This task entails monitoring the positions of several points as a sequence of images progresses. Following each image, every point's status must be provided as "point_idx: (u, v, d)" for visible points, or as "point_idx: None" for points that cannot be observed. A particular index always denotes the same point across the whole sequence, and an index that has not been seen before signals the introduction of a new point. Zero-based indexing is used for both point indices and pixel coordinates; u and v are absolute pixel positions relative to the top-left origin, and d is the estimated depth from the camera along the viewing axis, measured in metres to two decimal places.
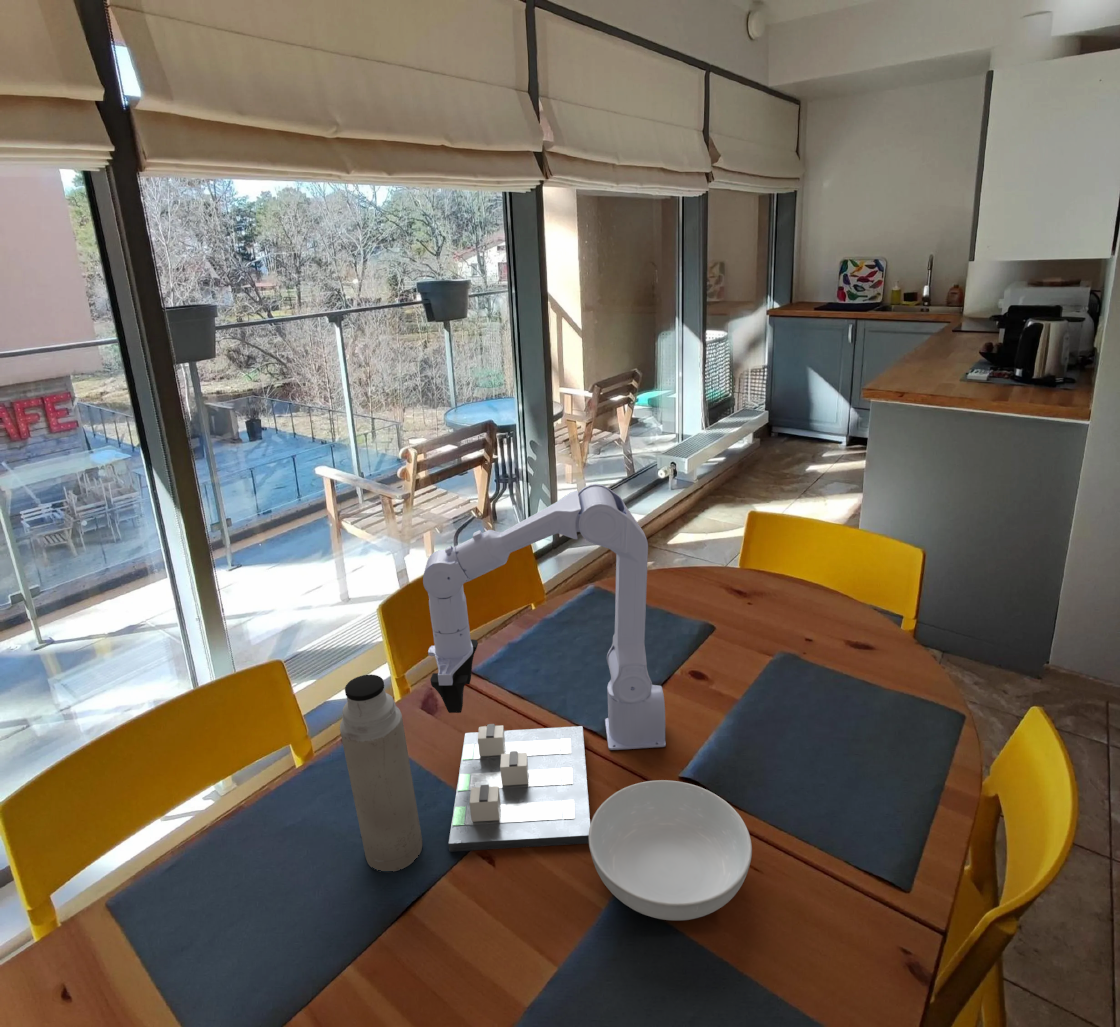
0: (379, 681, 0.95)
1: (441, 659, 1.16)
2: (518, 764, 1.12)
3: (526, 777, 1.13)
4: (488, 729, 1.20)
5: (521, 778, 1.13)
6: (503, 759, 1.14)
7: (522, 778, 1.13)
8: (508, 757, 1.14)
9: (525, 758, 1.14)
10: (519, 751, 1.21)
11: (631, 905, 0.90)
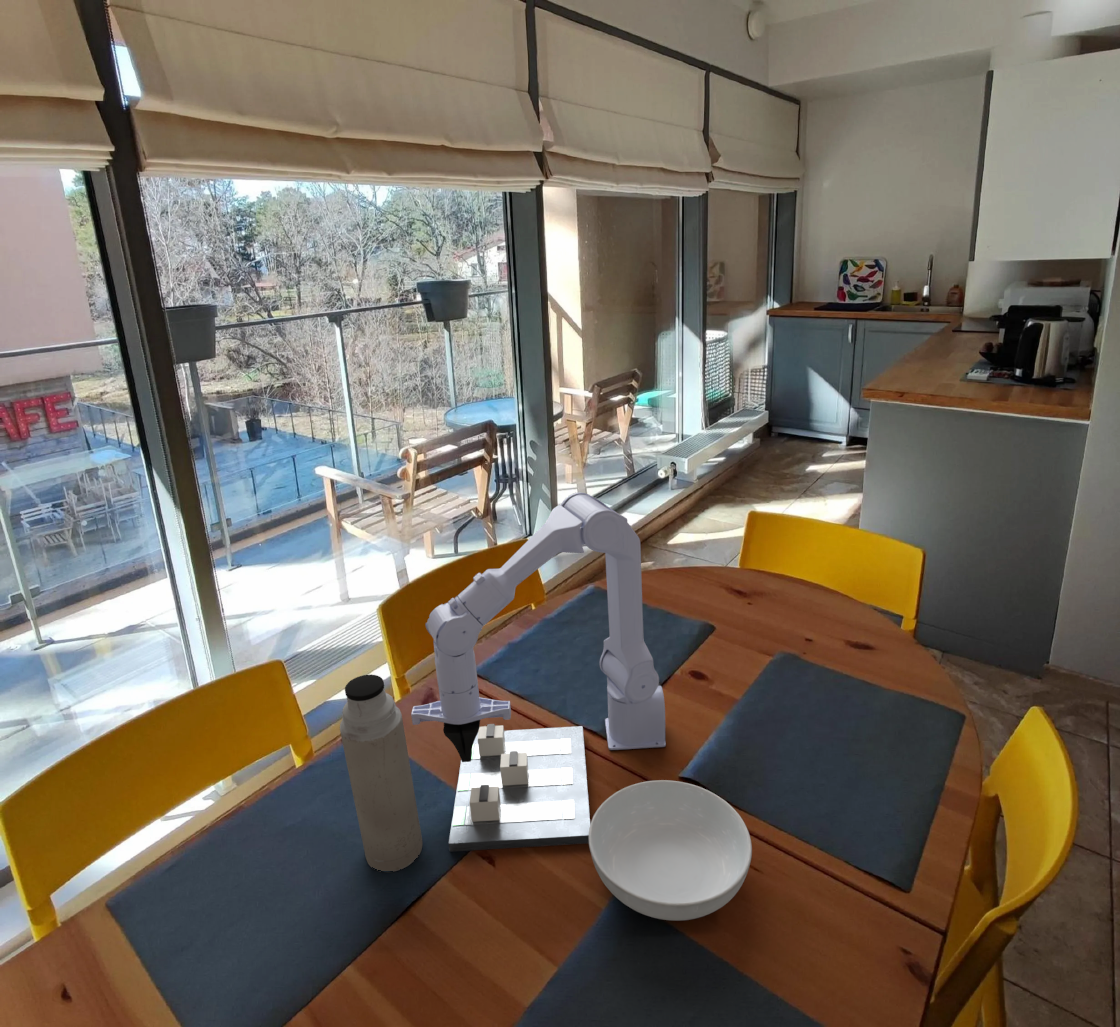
0: (379, 681, 0.95)
1: None
2: (518, 764, 1.12)
3: (526, 777, 1.13)
4: (488, 729, 1.20)
5: (521, 778, 1.13)
6: (503, 759, 1.14)
7: (522, 778, 1.13)
8: (508, 757, 1.14)
9: (525, 758, 1.14)
10: (519, 751, 1.21)
11: (631, 905, 0.90)
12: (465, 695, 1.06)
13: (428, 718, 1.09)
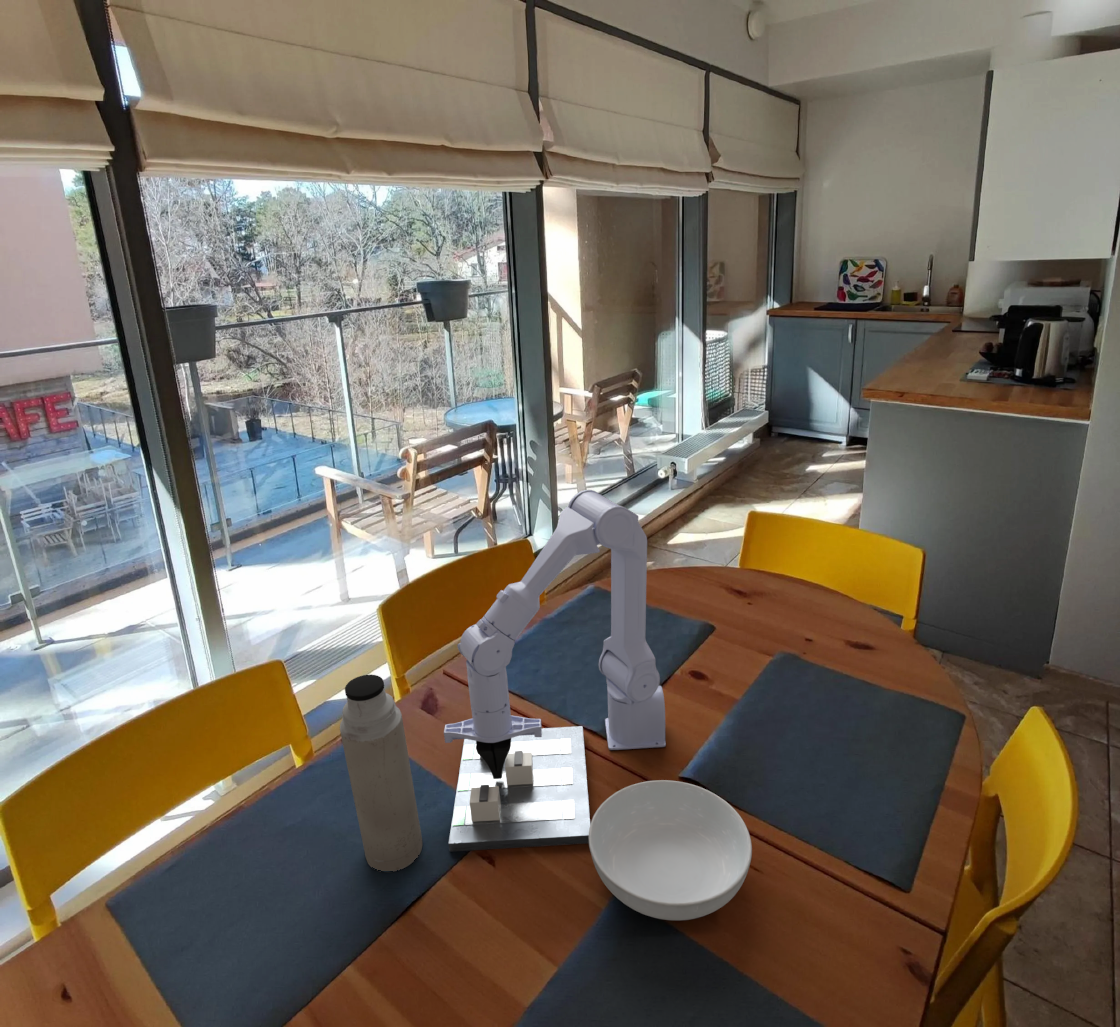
0: (379, 681, 0.95)
1: None
2: (523, 764, 1.12)
3: (531, 777, 1.13)
4: None
5: (526, 778, 1.13)
6: (508, 759, 1.14)
7: (527, 778, 1.13)
8: (513, 757, 1.14)
9: (530, 758, 1.14)
10: None
11: (631, 905, 0.90)
12: (498, 714, 1.07)
13: (461, 736, 1.10)
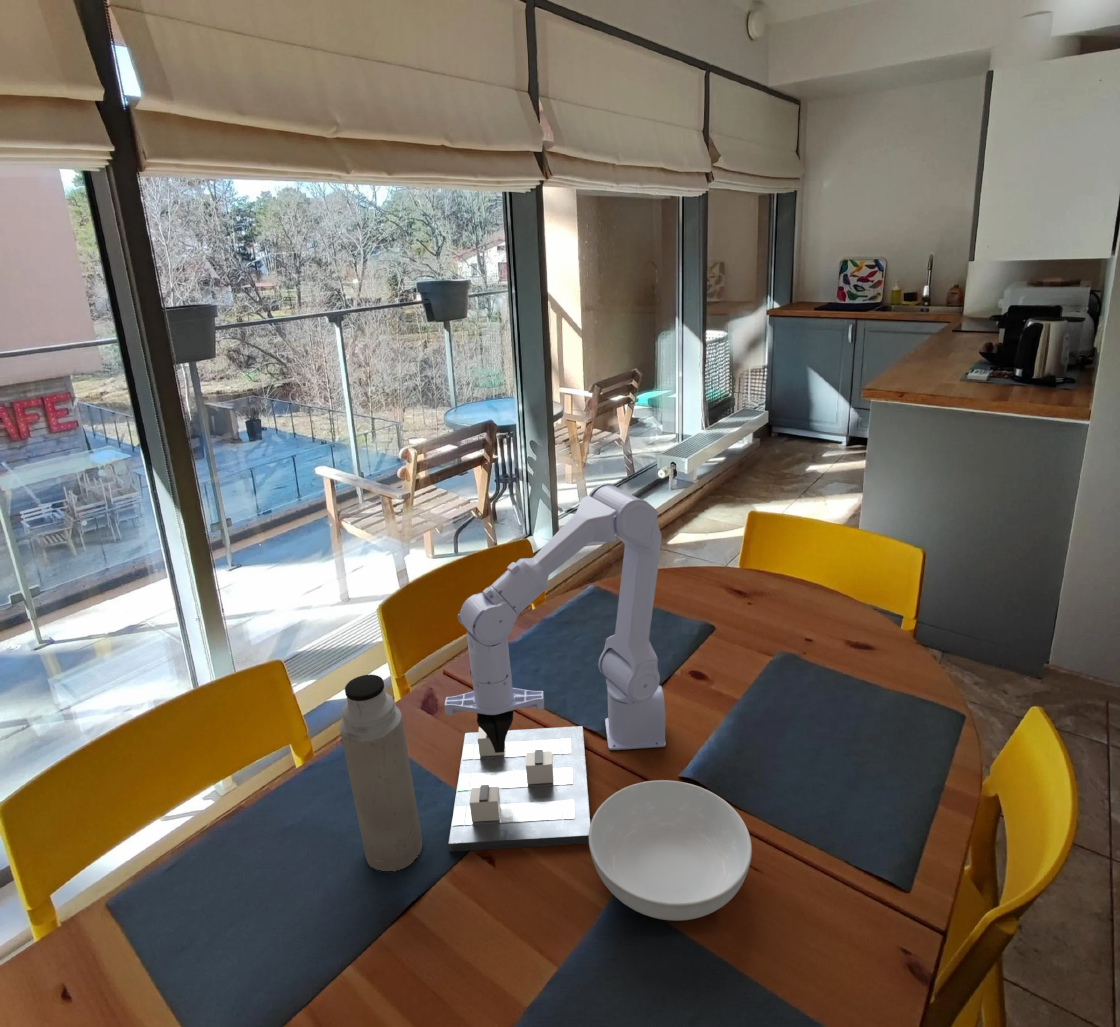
0: (379, 681, 0.95)
1: None
2: (544, 762, 1.12)
3: (551, 775, 1.13)
4: None
5: (546, 776, 1.13)
6: (528, 757, 1.14)
7: (547, 776, 1.13)
8: (533, 755, 1.14)
9: (550, 756, 1.14)
10: (519, 751, 1.21)
11: (631, 905, 0.90)
12: (499, 685, 1.06)
13: (462, 709, 1.08)
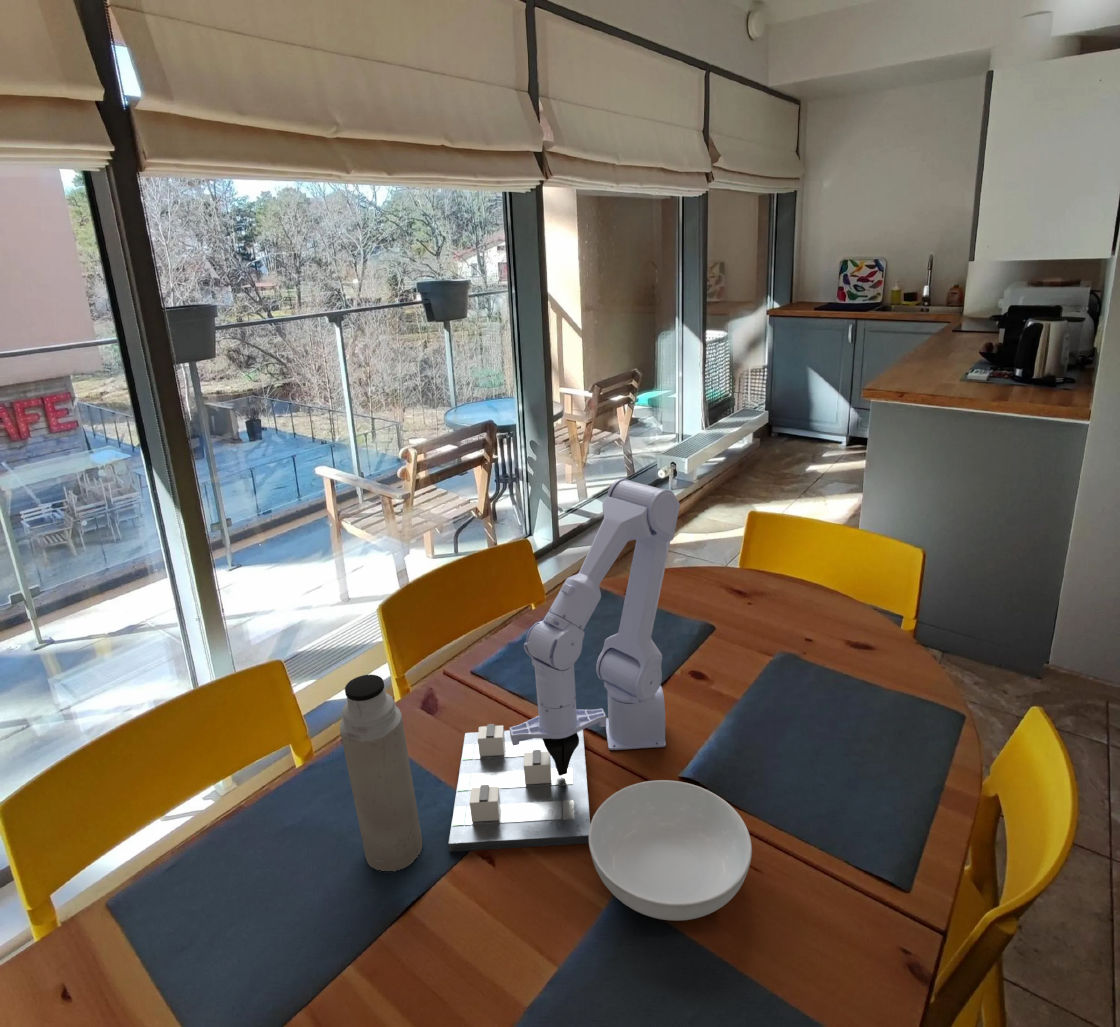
0: (379, 681, 0.95)
1: (538, 720, 1.12)
2: (541, 763, 1.12)
3: (549, 776, 1.13)
4: (488, 729, 1.20)
5: (544, 777, 1.13)
6: (526, 758, 1.14)
7: (545, 777, 1.13)
8: (531, 756, 1.14)
9: (548, 757, 1.14)
10: (519, 751, 1.21)
11: (631, 905, 0.90)
12: (569, 708, 1.08)
13: (530, 736, 1.09)
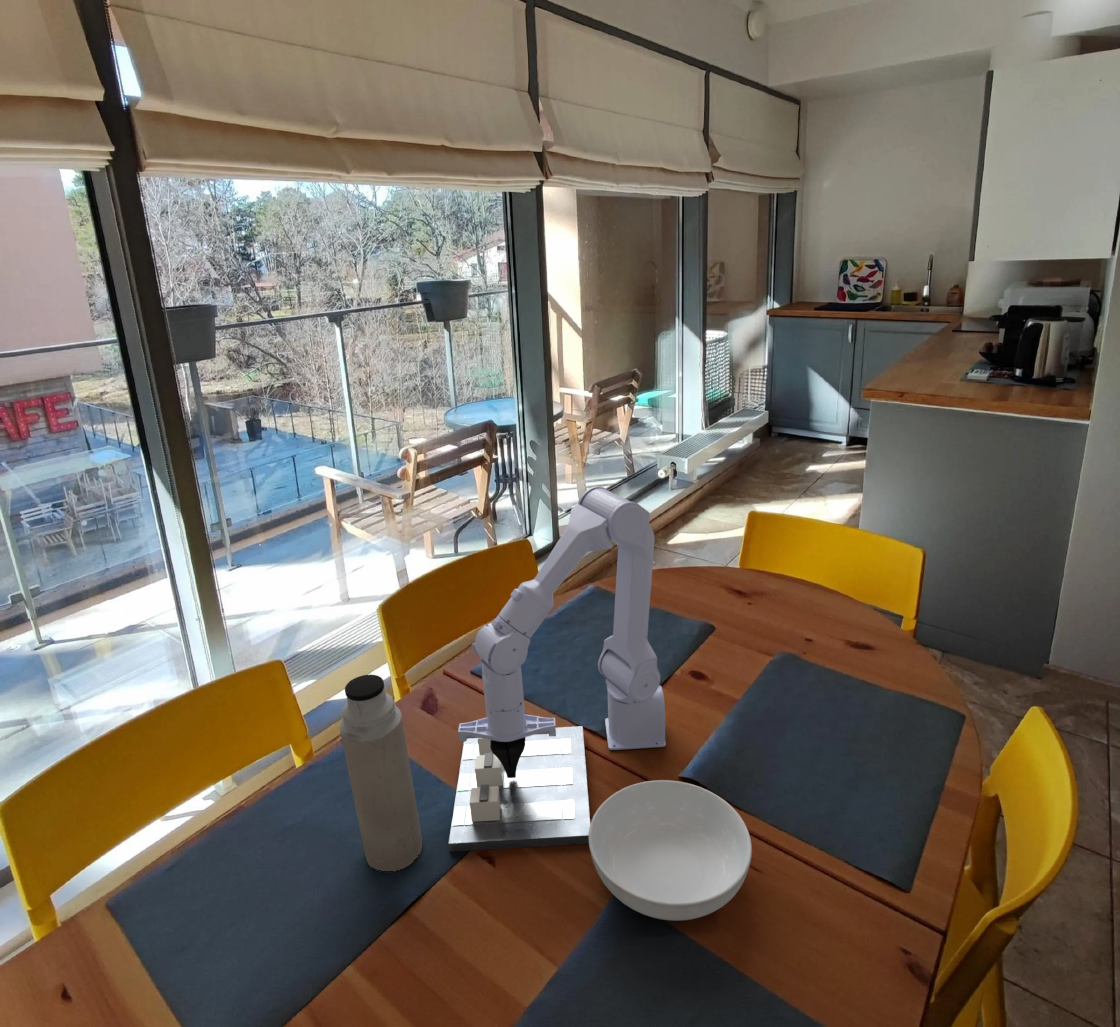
0: (379, 681, 0.95)
1: None
2: (493, 766, 1.12)
3: (501, 779, 1.13)
4: None
5: (496, 780, 1.13)
6: (478, 760, 1.14)
7: (497, 780, 1.13)
8: (483, 758, 1.14)
9: None
10: None
11: (631, 905, 0.90)
12: (512, 713, 1.07)
13: (475, 735, 1.10)
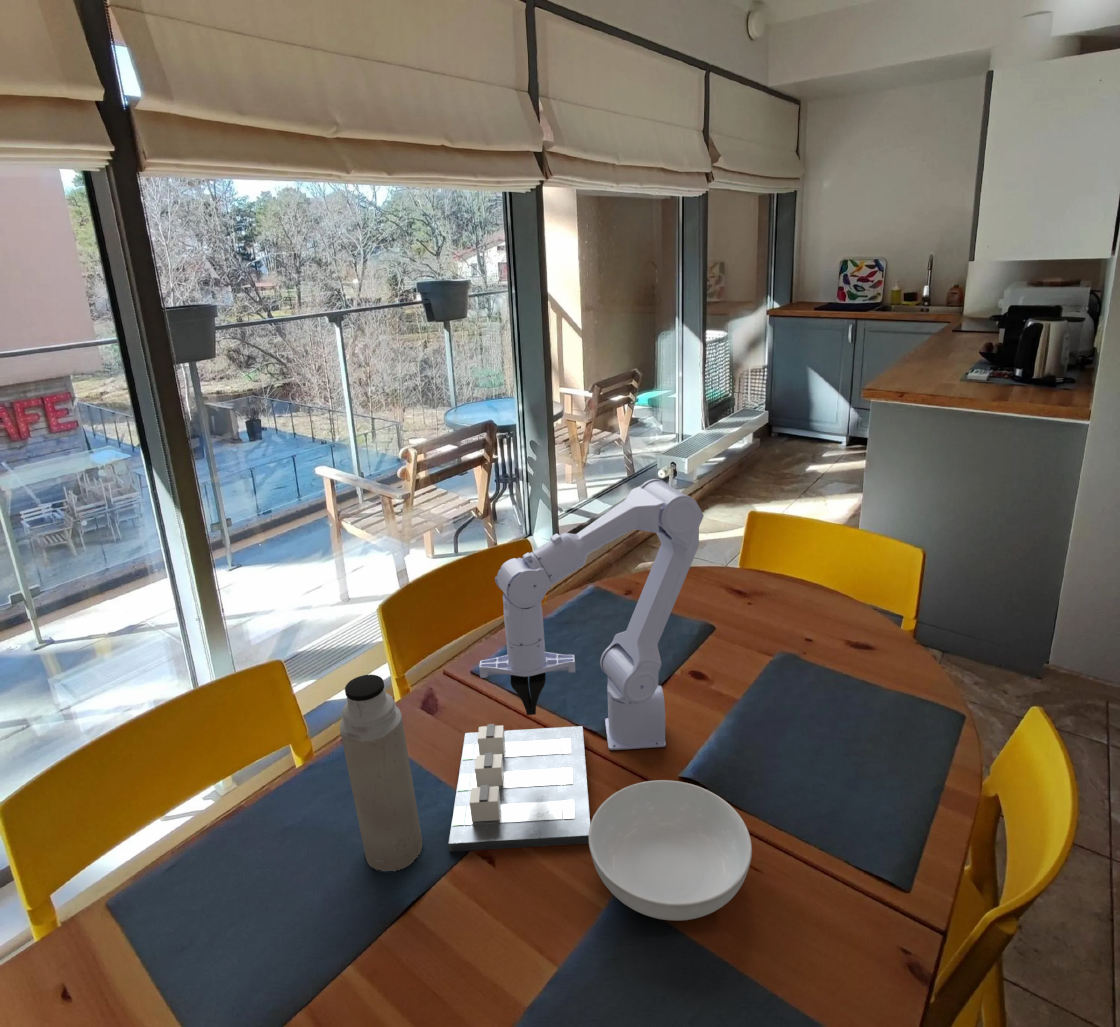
0: (379, 681, 0.95)
1: None
2: (493, 766, 1.12)
3: (501, 779, 1.13)
4: (488, 729, 1.20)
5: (496, 780, 1.13)
6: (478, 760, 1.14)
7: (497, 780, 1.13)
8: (483, 758, 1.14)
9: (500, 760, 1.14)
10: (519, 751, 1.21)
11: (631, 905, 0.90)
12: (533, 647, 1.09)
13: (496, 671, 1.12)
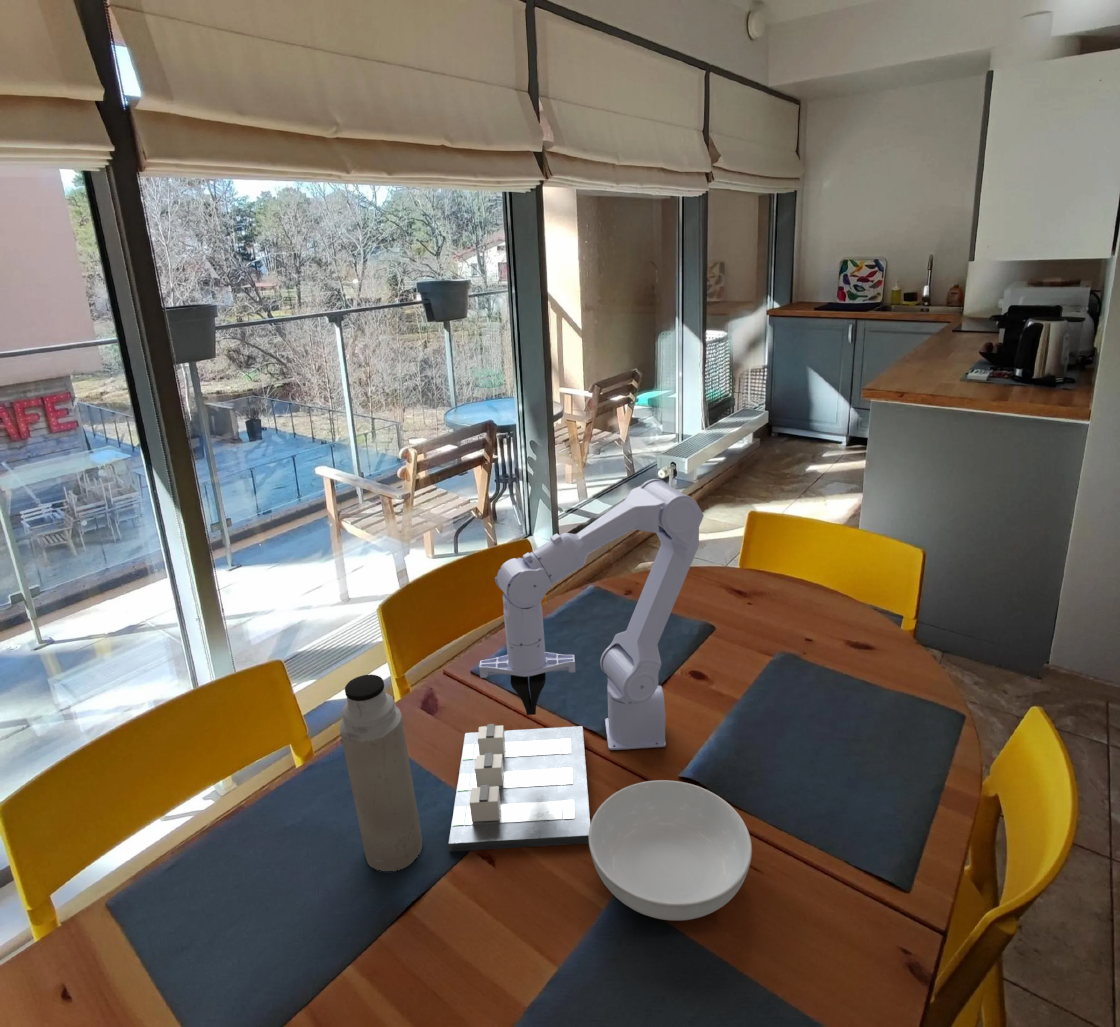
0: (379, 681, 0.95)
1: None
2: (493, 766, 1.12)
3: (501, 779, 1.13)
4: (488, 729, 1.20)
5: (496, 780, 1.13)
6: (478, 760, 1.14)
7: (497, 780, 1.13)
8: (483, 758, 1.14)
9: (500, 760, 1.14)
10: (519, 751, 1.21)
11: (631, 905, 0.90)
12: (533, 647, 1.09)
13: (496, 671, 1.12)
